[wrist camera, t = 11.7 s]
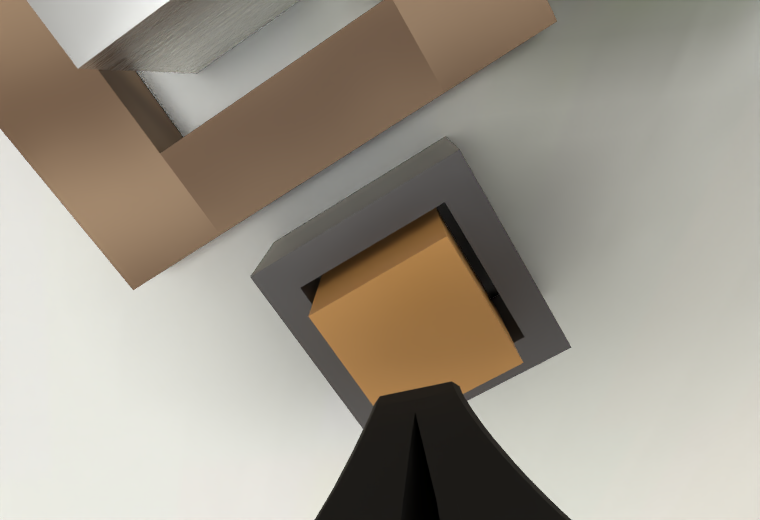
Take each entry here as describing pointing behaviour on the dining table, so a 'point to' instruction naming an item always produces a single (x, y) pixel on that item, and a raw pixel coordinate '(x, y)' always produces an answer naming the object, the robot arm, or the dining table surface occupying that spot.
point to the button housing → (383, 217)
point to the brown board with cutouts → (231, 121)
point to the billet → (153, 30)
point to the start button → (412, 314)
